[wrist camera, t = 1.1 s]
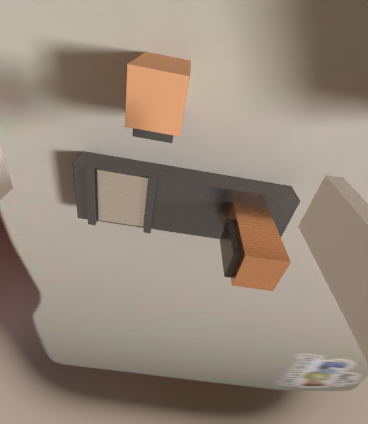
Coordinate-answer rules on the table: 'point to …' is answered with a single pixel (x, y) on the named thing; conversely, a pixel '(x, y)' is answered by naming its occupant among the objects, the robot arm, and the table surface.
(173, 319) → the table surface
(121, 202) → the rail
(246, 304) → the table surface
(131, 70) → the tall peach prism
